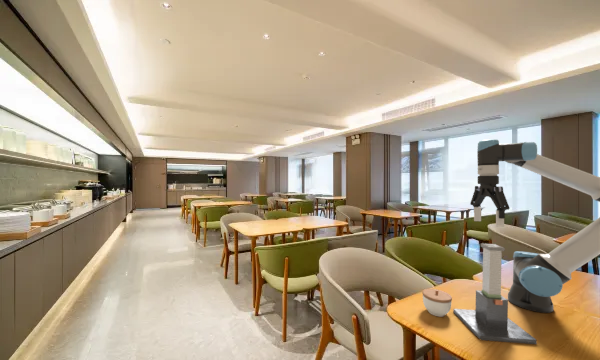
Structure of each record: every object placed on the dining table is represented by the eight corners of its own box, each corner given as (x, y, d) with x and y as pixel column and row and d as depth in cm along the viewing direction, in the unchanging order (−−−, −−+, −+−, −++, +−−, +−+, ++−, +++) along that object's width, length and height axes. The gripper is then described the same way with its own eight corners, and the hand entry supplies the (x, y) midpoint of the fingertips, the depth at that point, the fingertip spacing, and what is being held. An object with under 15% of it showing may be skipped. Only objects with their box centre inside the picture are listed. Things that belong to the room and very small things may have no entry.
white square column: (494, 298, 97) (495, 244, 97) (503, 305, 92) (504, 247, 91) (479, 297, 97) (480, 243, 97) (488, 304, 92) (489, 247, 92)
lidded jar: (456, 321, 98) (456, 297, 98) (426, 318, 100) (426, 294, 100) (445, 307, 108) (446, 286, 108) (419, 304, 110) (419, 283, 110)
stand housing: (499, 315, 102) (500, 286, 102) (536, 344, 85) (537, 308, 85) (453, 312, 104) (454, 283, 104) (479, 339, 86) (480, 305, 86)
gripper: (461, 175, 123) (461, 219, 123) (501, 174, 98) (501, 228, 98) (477, 175, 122) (477, 219, 122) (520, 174, 98) (521, 228, 97)
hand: (488, 223), depth 110 cm, fingers open, 13 cm apart
